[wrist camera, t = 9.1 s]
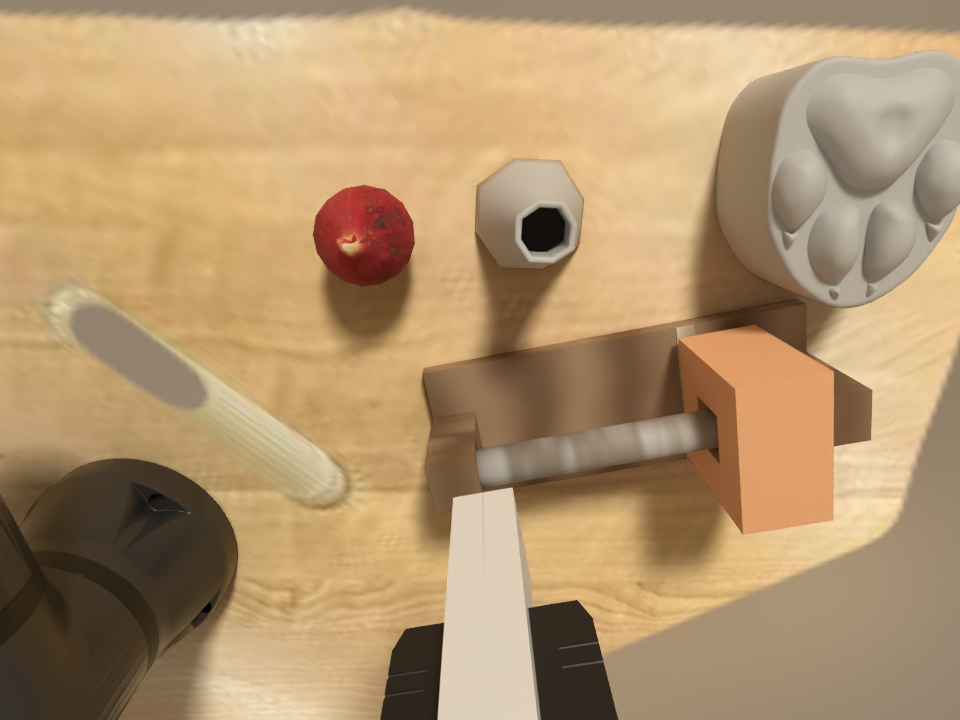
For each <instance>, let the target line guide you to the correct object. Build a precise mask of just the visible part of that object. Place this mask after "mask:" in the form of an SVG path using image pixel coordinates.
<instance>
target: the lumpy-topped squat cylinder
mask: <svg viewBox="0 0 960 720" xmlns="http://www.w3.org/2000/svg"><path fill="white" fill-rule="evenodd" d="M959 204H960V60H959V59H958V58H956V57H955V56H953V55H952V54H950V53H948V52H945V51H940V50H926V51H919V52H914V53H909V54H905V55H901V56H897V57H892V58H887V59H868V58H861V57H854V56H834V57H829V58H825V59H822V60H819V61H815V62H811V63H808V64H805V65H801V66H798V67H795V68H792V69H788V70H785V71H781V72H778V73H774V74H771V75H768V76H764V77H761V78H758V79H756V80H754V81H753V82H751V83H750V84H749V85H747V86H746V87H745V88H744V89H743V90H742V91H741V92H740V94H739V95H738V96H737V98H736V99H735V100H734V102H733V104H732V105H731V107H730V109H729V112H728V114H727V117H726V120H725V123H724V127H723V132H722V138H721V145H720V151H719V158H718V167H717V181H716V209H717V218H718V222H719V225H720V228H721V230H722V232H723V234H724V236H725V238H726V240H727V242H728V244H729V246H730V248H731V249H732V251H733V253H734V254H735V256H736V257H737V259H738V260H739V261H740V262H741V263H742V265H743V266H745V267H746V268H747V269H748V270H749V271H751V272H752V273H753V274H755V275H756V276H758V277H759V278H761V279H763V280H765V281H767V282H770V283H772V284H774V285H777V286H779V287H782V288H784V289H786V290H789V291H791V292H793V293H796V294H798V295H801V296H803V297H806V298H808V299H811V300H813V301H816V302H819V303H821V304H824V305H827V306H830V307H834V308H852V307H858V306H861V305H864V304H867V303H870V302H873V301H875V300H877V299H878V298H880V297H882V296H884V295H885V294H887V293H888V292H890V291H892V290H893V289H894V288H896V287H897V286H898V285H900V284H901V283H902V282H904V281H905V280H906V279H907V278H909V277H910V276H911V275H912V274H913V273H914V272H915V271H916V270H917V269H918V268H919V267H920V265H921V264H922V263H923V262H924V261H925V259H926V258H927V257H928V256H929V254H930V253H931V252H932V250H933V249H934V248H935V246H936V245H937V244H938V242H939V241H940V239H941V238H942V236H943V235H944V234H945V232H946V231H947V229H948V228H949V226H950V224H951V222H952V220H953V218H954V215H955V212H956V209H957V206H958V205H959Z"/></svg>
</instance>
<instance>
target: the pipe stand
mask: <svg viewBox="0 0 960 720" xmlns="http://www.w3.org/2000/svg"><path fill="white" fill-rule="evenodd" d="M750 325H756V326H758V327H759V328H761V329H763V330H764V331H766V332H768V333H769V334H771V335H773V336H775V337H776V338H778V339H780V340H781V341H783V342H785V343H786V344H788V345H790V346H791V347H793V348H795V349H796V350H798V351H800V352H802V353H803V354H805V355H807V356H808V357H810V358H812V359H813V360H815V361H817V362H818V363H820V364H822V365H823V366H825V367H827V368H829V369H830V370H832V371H834V446H839V445H845V444H850V443H856V442H862V441H868V440H871V418H872V390H871V389H869V388H868V387H866V386H864V385H863V384H861V383H859V382H857V381H856V380H854V379H852V378H851V377H849V376H847V375H845V374H844V373H842V372H840V371H839V370H837V369H835V368H833V367H832V366H830V365H828V364H826V363H825V362H823V361H821V360H820V359H818V358H816V357H814V356H813V355H811V354H809V353H808V352H806V304H805V303H803V302H800V301H798V300H793V301H787V302H782V303H776V304H771V305H765V306H760V307H755V308H749V309H744V310H738V311H733V312H727V313H722V314H716V315H711V316H706V317H700V318H695V319H689V320H684V321H678V322H673V323H667V324H662V325H657V326H651V327H646V328H640V329H635V330H629V331H624V332H618V333H613V334H608V335H602V336H597V337H591V338H586V339H580V340H575V341H569V342H564V343H559V344H553V345H548V346H542V347H537V348H531V349H526V350H520V351H515V352H510V353H504V354H499V355H493V356H488V357H482V358H477V359H471V360H466V361H461V362H455V363H450V364H444V365H439V366H433V367H428V368H424V370H423V378H424V383H425V387H426V391H427V395H428V399H429V403H430V408H431V412H432V416H433V422H432V428H431V434H430V440H429V445H428V451H427V457H426V463H425V471H426V475H427V479H428V483H429V487H430V491H431V495H432V499H433V503H434V507H435V511H436V513H442V512H448V511H452V507H453V497H459V496H465V495H471V494H477V493H483V492H489V491H495V490H500V489H506V488H512V487H513V488H515V487H521V486H527V485H533V484H539V483H545V482H551V481H556V480H562V479H568V478H574V477H580V476H586V475H592V474H598V473H603V472H609V471H615V470H621V469H627V468H633V467H639V466H645V465H650V464H656V463H662V462H668V461H674V460H680V459H686V458H687V459H689V458H688V453H689V452H695V451H701V450H707V449H713V448H717V449H719V444H718V429H717V416H716V415H715V414H714V413H713V412H712V411H711V410H710V409H709V408H707V409H704V410H699V411H693V412H687V413H685V412H684V400H683V389H682V377H681V365H680V354H679V342H678V339H679V338H684V337H690V336H695V335H701V334H706V333H711V332H717V331H722V330H728V329H733V328H739V327H744V326H750Z"/></svg>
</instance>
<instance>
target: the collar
mask: <svg viewBox="0 0 960 720" xmlns="http://www.w3.org/2000/svg"><path fill="white" fill-rule="evenodd" d="M678 342H679V354H680V365H681V377H682V389H683V400H684V412H685V413H687V412H693V411H699V410H704V409H707V408H709V409H710V410H711V411H712V412H713V413H714V414H715V415H716V416H717V429H718V444H719V449H717V448H713V449H707V450H701V451H695V452H689V453H688V458H689V459H690V461H691V462H692V464H693V465H694V466H695V468H696V469H697V471H698V472H699V473H700V475H701V476H702V478H703V479H704V480H705V482H706V483H707V485H708V486H709V488H710V489H711V490H712V492H713V493H714V495H715V496H716V497H717V499H718V500H719V502H720V503H721V504H722V506H723V507H724V509H725V510H726V511H727V513H728V514H729V516H730V517H731V519H732V520H733V521H734V523H735V524H736V526H737V527H738V528H739V530H740V531H741V533H742V534H743V535H745V534H751V533H758V532H764V531H770V530H776V529H782V528H788V527H795V526H801V525H807V524H813V523H819V522H826V521H832V520H833V467H834V371H832V370H830V369H829V368H827V367H825V366H823V365H822V364H820V363H818V362H817V361H815V360H813V359H812V358H810V357H808V356H807V355H805V354H803V353H802V352H800V351H798V350H796V349H795V348H793V347H791V346H790V345H788V344H786V343H785V342H783V341H781V340H780V339H778V338H776V337H775V336H773V335H771V334H769V333H768V332H766V331H764V330H763V329H761V328H759V327H758V326H756V325H750V326H744V327H739V328H733V329H728V330H722V331H717V332H711V333H706V334H701V335H695V336H690V337H684V338H679V339H678Z"/></svg>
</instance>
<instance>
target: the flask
mask: <svg viewBox="0 0 960 720" xmlns="http://www.w3.org/2000/svg"><path fill="white" fill-rule="evenodd" d="M583 205H584V199H583V197H582V195H581V194H580V192H579V190H578V189H577V187H576V185H575V184H574V182H573V180H572V179H571V177H570V175H569V174H568V172H567V171H566V169H565V167H564V166H563V164H562V162H561V161H559V160H538V159H517V158H515V159H513V160H512V161H511V162H509V163H508V164H506V165H505V166H504V167H502V168H501V169H499V170H498V171H497V172H495V173H494V174H492V175H491V176H490V177H488V178H487V179H485V180H484V181H483V182H481V183H480V184H478V185H477V204H476V228H475V231H476V233H477V234H478V236H479V237H480V239H481V240H482V242H483V243H484V245H485V246H486V248H487V249H488V251H489V252H490V254H491V255H492V257H493V258H494V260H495V261H496V262H497V264H498V265H499V267H504V268H527V269H544V268H545V267H547V266H548V265H550V264H555V263H556V262H558V261H559V260H561V259H562V258H564V257H565V256H567V255H568V254H570V253H571V252H573V251H574V250H575V248H576V247H577V246H578V245H580V235H581V225H582V215H583Z"/></svg>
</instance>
